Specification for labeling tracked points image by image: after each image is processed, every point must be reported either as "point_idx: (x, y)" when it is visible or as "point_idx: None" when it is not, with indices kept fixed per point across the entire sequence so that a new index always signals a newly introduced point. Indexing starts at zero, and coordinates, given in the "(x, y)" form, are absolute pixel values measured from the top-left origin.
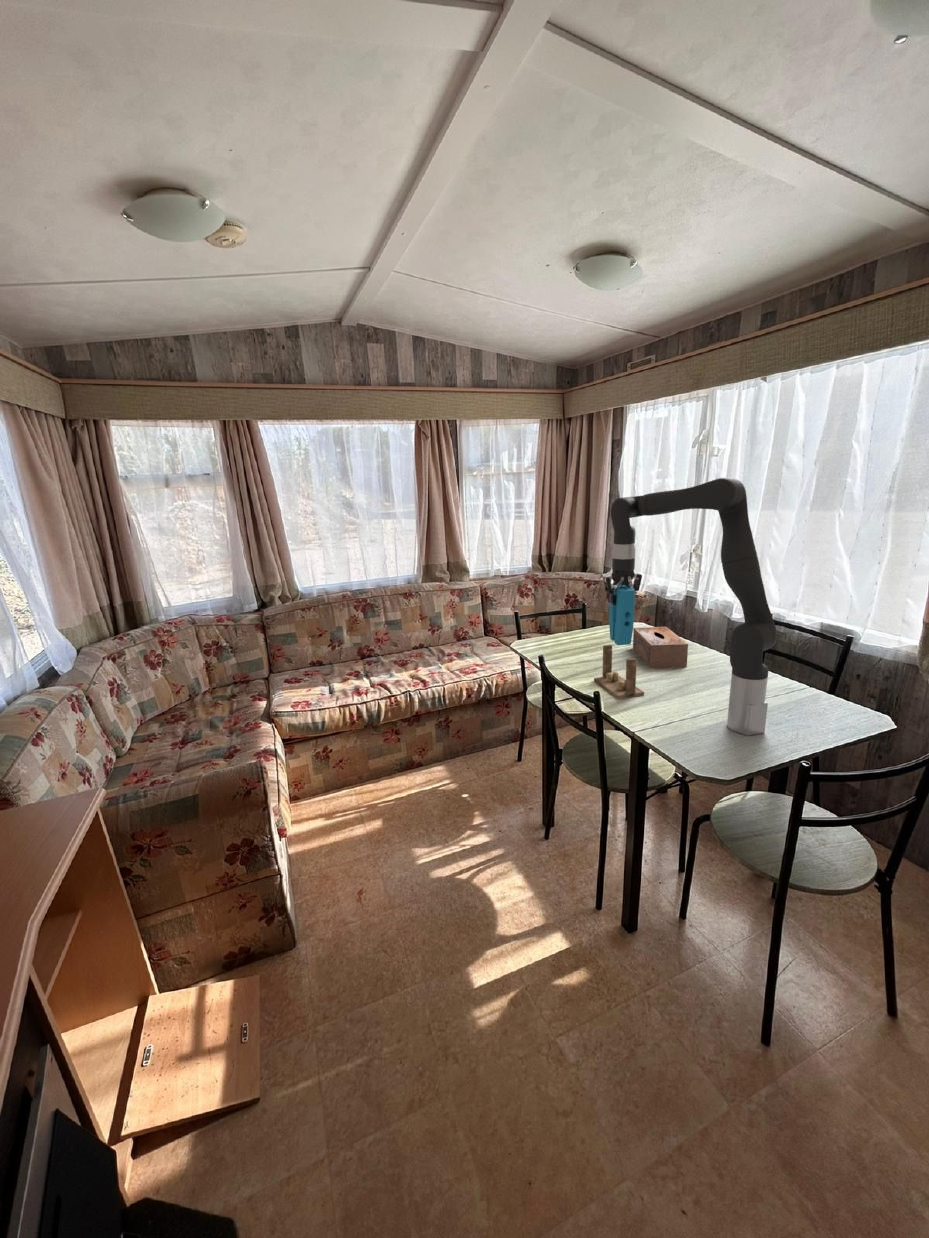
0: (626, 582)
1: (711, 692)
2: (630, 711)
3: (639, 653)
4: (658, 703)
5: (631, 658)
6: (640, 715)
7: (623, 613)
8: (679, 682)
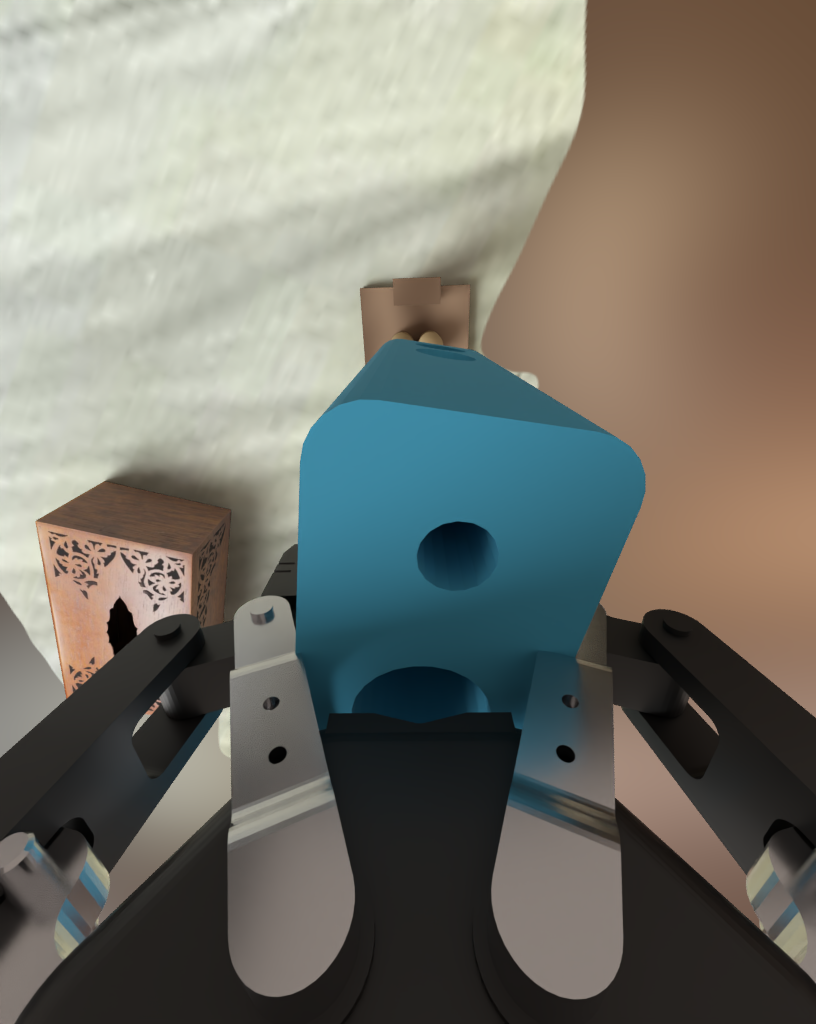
0: (361, 776)
1: (95, 222)
2: (490, 145)
3: (221, 612)
4: (346, 186)
5: (411, 301)
6: (475, 85)
7: (495, 364)
8: (182, 360)
